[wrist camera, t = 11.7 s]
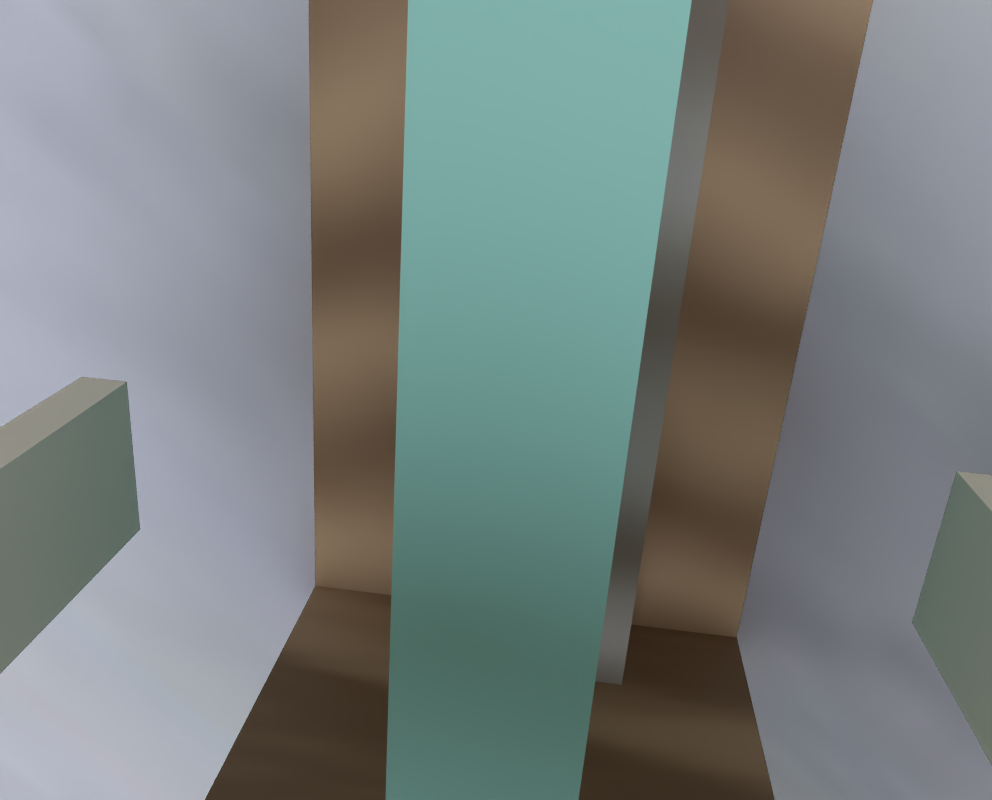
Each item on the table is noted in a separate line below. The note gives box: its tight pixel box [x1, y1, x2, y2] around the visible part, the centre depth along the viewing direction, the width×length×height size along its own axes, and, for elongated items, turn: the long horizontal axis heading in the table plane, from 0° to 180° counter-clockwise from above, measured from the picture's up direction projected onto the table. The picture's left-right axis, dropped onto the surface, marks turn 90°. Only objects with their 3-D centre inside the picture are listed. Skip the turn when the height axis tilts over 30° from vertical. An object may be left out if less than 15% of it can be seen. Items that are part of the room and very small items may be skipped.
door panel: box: [386, 0, 692, 800], centre depth 17 cm, size 16×2×16 cm, turn 176°
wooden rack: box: [205, 0, 873, 800], centre depth 21 cm, size 26×14×12 cm, turn 176°
